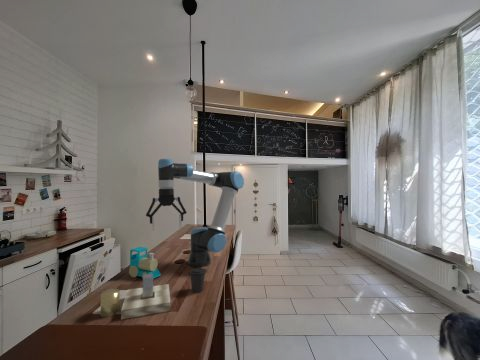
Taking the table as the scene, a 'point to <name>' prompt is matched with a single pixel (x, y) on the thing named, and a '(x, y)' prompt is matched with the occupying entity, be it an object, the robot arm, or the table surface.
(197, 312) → the table surface
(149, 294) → the square bit
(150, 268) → the toy train
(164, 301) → the socket board
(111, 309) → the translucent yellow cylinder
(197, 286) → the coffee cup
